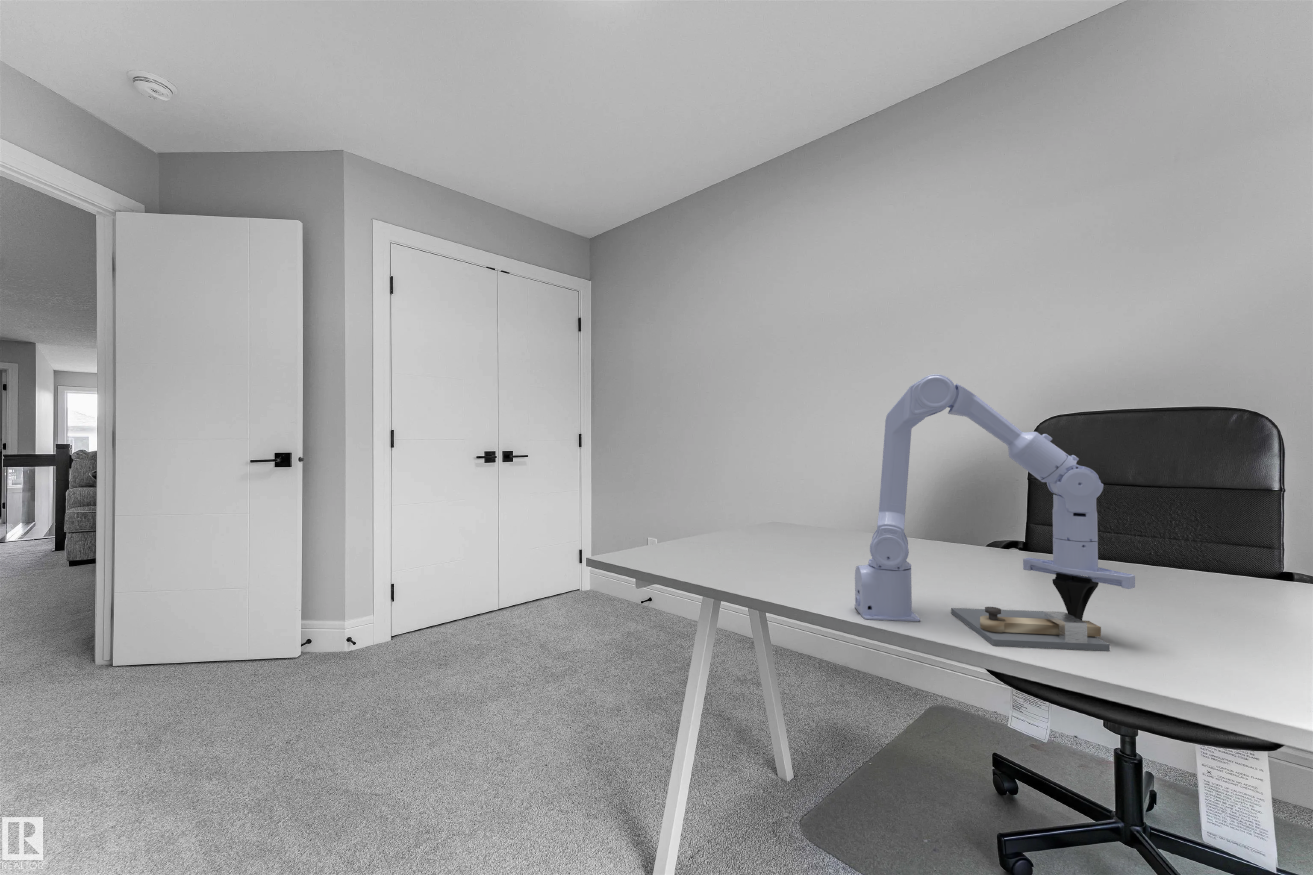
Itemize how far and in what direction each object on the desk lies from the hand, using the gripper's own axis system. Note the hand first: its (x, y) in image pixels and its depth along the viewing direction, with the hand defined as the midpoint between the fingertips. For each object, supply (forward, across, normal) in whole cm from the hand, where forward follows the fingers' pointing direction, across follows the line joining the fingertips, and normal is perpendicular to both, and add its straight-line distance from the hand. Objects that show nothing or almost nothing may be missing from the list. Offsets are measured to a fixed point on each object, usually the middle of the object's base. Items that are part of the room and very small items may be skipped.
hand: (1076, 623), depth 86 cm
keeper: (+1, -1, +6) cm, 6 cm away
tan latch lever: (+1, +2, +7) cm, 8 cm away
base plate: (+2, +6, +5) cm, 8 cm away
